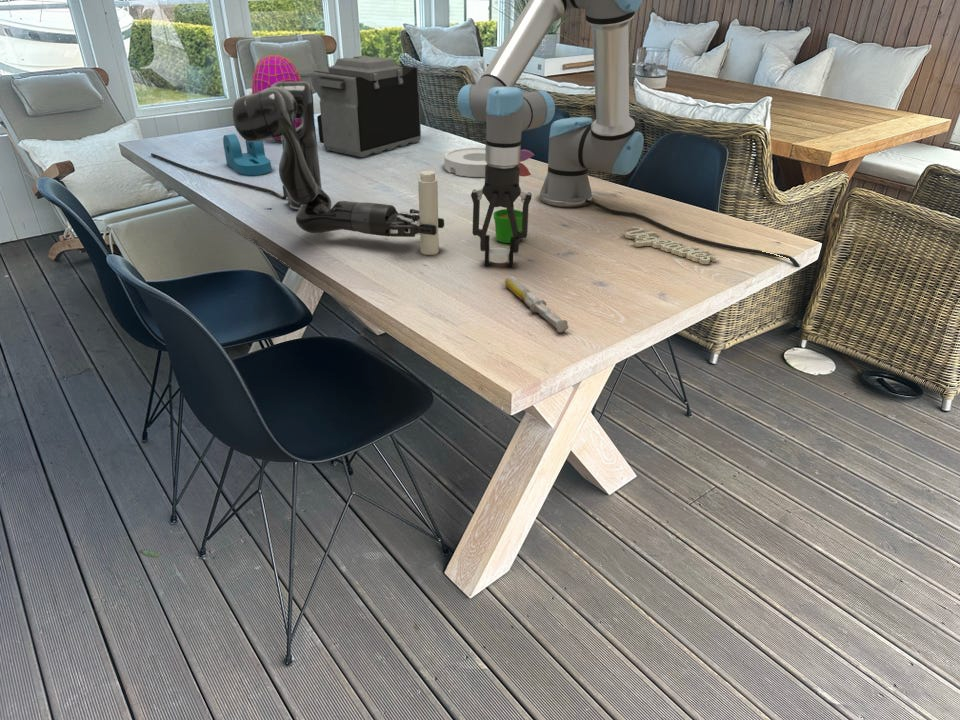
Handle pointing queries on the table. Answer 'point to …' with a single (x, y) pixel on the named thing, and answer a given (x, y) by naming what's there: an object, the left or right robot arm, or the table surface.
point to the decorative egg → (274, 76)
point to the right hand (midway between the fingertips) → (498, 264)
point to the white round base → (466, 162)
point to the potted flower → (502, 215)
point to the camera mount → (246, 156)
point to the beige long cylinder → (428, 211)
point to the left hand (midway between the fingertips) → (439, 226)
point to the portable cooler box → (367, 105)
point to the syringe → (535, 304)
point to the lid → (499, 255)
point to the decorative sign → (669, 245)
